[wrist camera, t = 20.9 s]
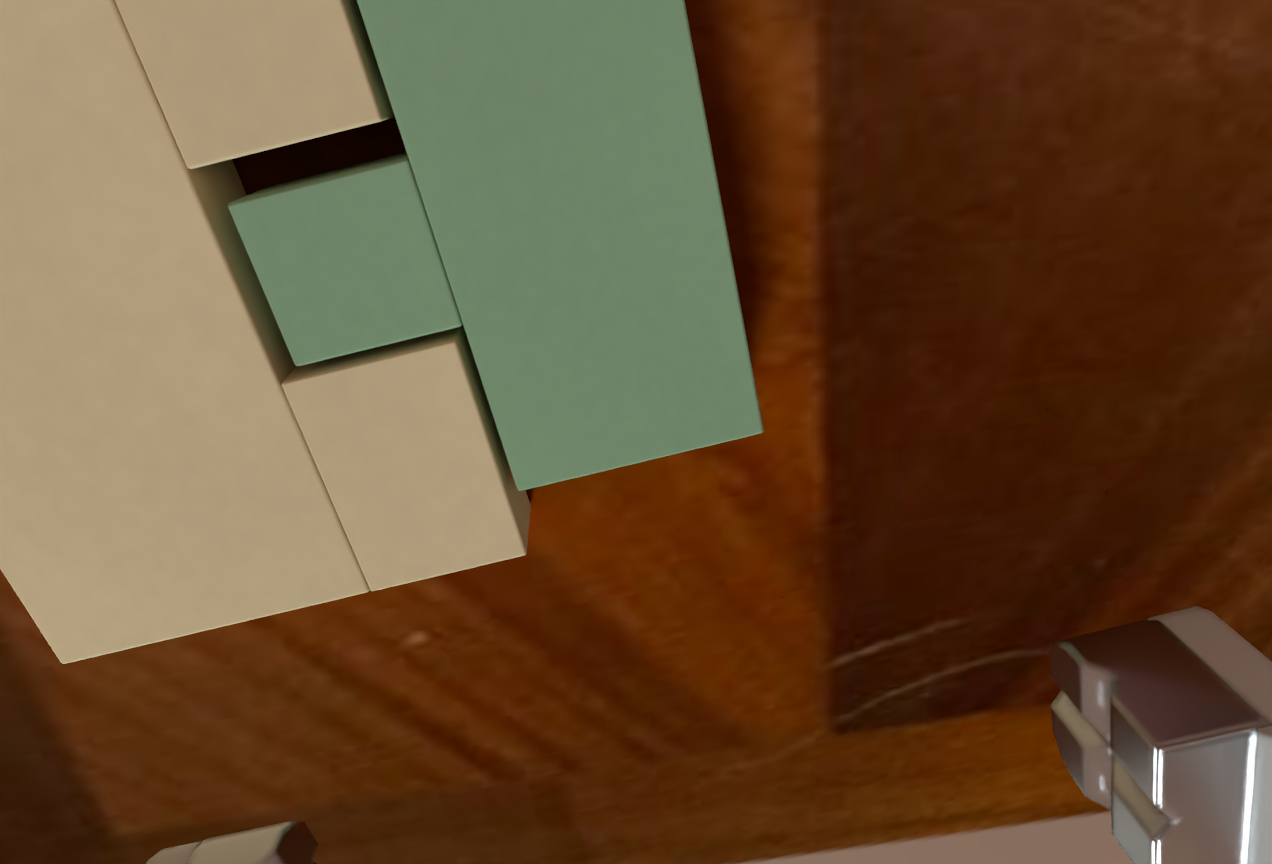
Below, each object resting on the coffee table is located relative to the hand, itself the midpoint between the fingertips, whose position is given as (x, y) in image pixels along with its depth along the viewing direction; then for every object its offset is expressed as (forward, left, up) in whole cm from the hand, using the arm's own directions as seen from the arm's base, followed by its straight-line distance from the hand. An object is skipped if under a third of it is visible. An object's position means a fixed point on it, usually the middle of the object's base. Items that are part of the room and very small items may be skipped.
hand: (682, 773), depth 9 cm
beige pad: (+5, +9, -14) cm, 17 cm away
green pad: (+4, +2, -14) cm, 14 cm away
